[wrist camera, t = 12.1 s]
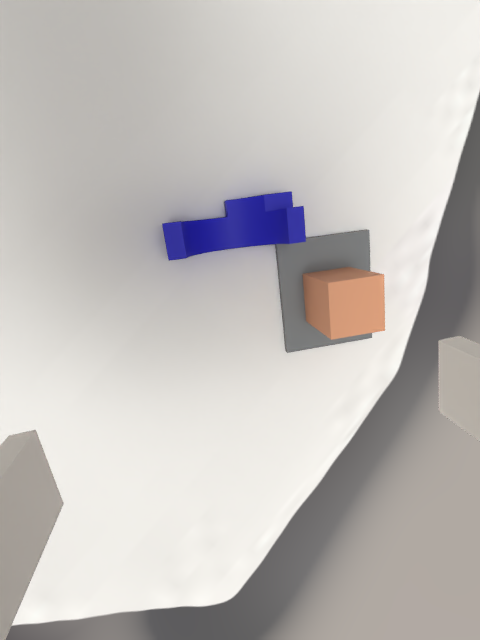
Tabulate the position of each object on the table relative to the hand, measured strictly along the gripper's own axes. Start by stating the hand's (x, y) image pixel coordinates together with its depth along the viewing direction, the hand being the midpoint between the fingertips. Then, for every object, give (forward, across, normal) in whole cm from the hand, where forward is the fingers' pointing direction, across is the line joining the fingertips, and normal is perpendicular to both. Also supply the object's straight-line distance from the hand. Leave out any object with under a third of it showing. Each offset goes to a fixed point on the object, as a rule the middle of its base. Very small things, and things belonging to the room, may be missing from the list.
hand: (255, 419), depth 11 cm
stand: (+26, +13, -3) cm, 29 cm away
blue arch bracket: (+27, +3, +6) cm, 27 cm away
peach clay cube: (+25, +13, -3) cm, 29 cm away
